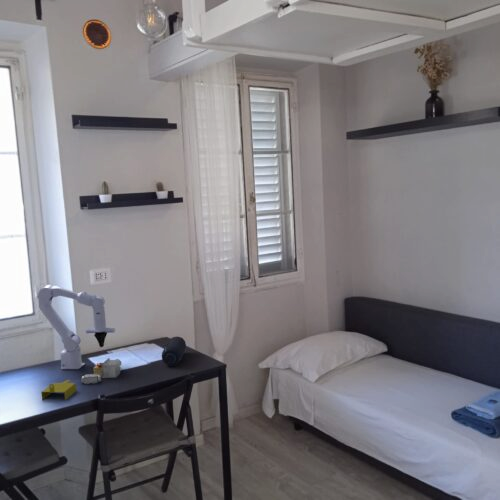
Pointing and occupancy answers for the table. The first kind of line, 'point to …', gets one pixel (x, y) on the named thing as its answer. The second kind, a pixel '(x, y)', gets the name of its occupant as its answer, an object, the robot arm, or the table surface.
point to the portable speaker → (173, 351)
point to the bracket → (60, 389)
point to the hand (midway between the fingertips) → (101, 346)
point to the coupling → (111, 368)
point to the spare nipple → (91, 378)
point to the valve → (98, 369)
